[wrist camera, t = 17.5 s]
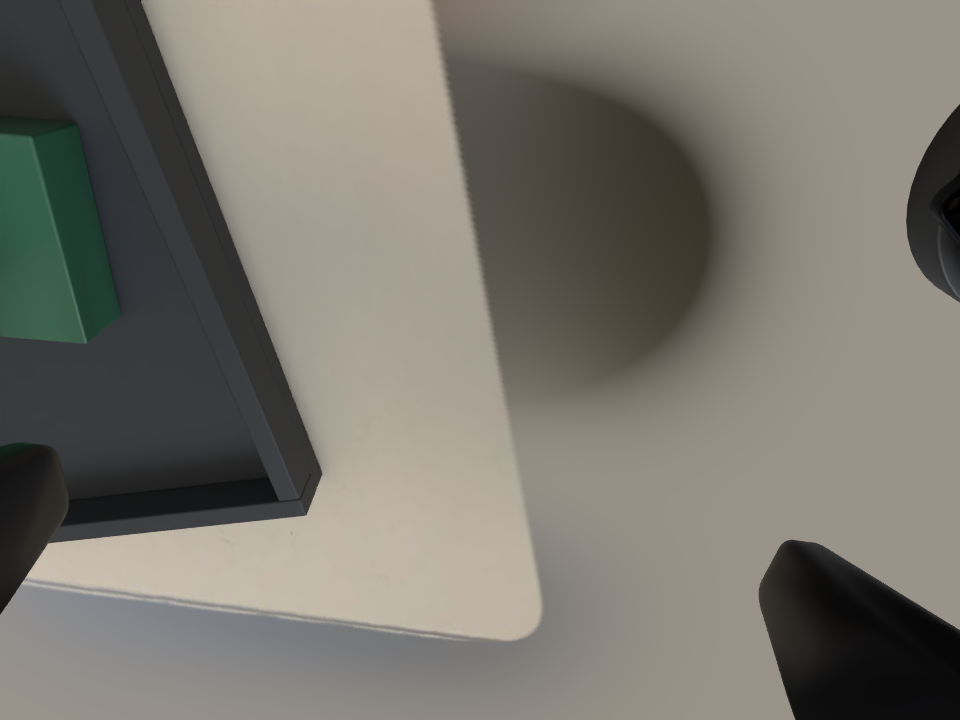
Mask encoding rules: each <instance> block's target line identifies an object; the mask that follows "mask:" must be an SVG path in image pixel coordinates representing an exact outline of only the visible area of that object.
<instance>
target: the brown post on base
mask: <svg viewBox="0 0 960 720" xmlns="http://www.w3.org/2000/svg"><path fill="white" fill-rule="evenodd" d="M120 316H121V311H120V307H119V303H118V298H117V294H116V290H115V285H114V281H113V277H112V272H111V268H110V264H109V259H108V255H107V251H106V246H105V242H104V238H103V233H102V229H101V225H100V220H99V216H98V212H97V207H96V203H95V199H94V194H93V190H92V186H91V181H90V177H89V173H88V168H87V164H86V160H85V155H84V151H83V147H82V142H81V138H80V134H79V129H78V125H77V124H76V123H73V122H63V121H52V120H41V119H31V118H20V117H9V116H0V336H2V337H13V338H24V339H36V340H47V341H58V342H70V343H81V344H86V343H89V342H90V341H91V340H92V339H93V338H95V337H96V336H97V335H98V334H99V333H101V332H102V331H103V330H104V329H105V328H107V327H108V326H109V325H110V324H111V323H113V322H114V321H115V320H116V319H118V318H119V317H120Z"/></svg>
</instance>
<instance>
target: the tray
mask: <svg viewBox="0 0 960 720" xmlns="http://www.w3.org/2000/svg"><path fill="white" fill-rule="evenodd" d="M0 116H9V117H20V118H31V119H41V120H52V121H63V122H73V123H76V124H77V125H78V129H79V134H80V138H81V142H82V147H83V151H84V155H85V160H86V164H87V168H88V173H89V177H90V181H91V186H92V190H93V194H94V199H95V203H96V207H97V212H98V216H99V220H100V225H101V229H102V233H103V238H104V242H105V246H106V251H107V255H108V259H109V264H110V268H111V272H112V277H113V281H114V285H115V290H116V294H117V298H118V303H119V307H120V311H121V316H120V317H119V318H118V319H116V320H115V321H114V322H113V323H111V324H110V325H109V326H108V327H107V328H105V329H104V330H103V331H102V332H101V333H99V334H98V335H97V336H96V337H95V338H93V339H92V340H91V341H90V342H89V343H86V344H81V343H70V342H58V341H47V340H36V339H24V338H13V337H2V336H0V446H3V445H7V444H11V443H16V442H26V443H34V444H41V445H48V446H51V447H53V448H54V449H55V450H56V451H57V453H58V455H59V458H60V462H61V466H62V470H63V474H64V478H65V481H66V485H67V489H68V493H69V507H68V511H67V514H66V516H65V518H64V520H63V522H62V523H61V525H60V526H59V528H58V529H57V531H56V532H55V534H54V535H53V537H52V538H51V540H50V541H49V543H54V542H64V541H73V540H82V539H92V538H101V537H110V536H120V535H129V534H138V533H148V532H157V531H166V530H176V529H185V528H194V527H204V526H213V525H222V524H232V523H241V522H250V521H260V520H269V519H278V518H288V517H297V516H305V515H307V512H308V510H309V507H310V505H311V502H312V499H313V497H314V494H315V491H316V487H317V486H318V484H319V481H320V479H321V476H322V473H321V470H320V467H319V465H318V462H317V460H316V457H315V454H314V452H313V449H312V447H311V444H310V441H309V439H308V436H307V434H306V431H305V428H304V426H303V423H302V421H301V418H300V415H299V413H298V410H297V408H296V405H295V402H294V400H293V397H292V395H291V392H290V389H289V387H288V384H287V382H286V379H285V376H284V374H283V371H282V369H281V366H280V364H279V361H278V358H277V356H276V353H275V351H274V348H273V345H272V343H271V340H270V338H269V335H268V332H267V330H266V327H265V325H264V322H263V319H262V317H261V314H260V312H259V309H258V306H257V304H256V301H255V299H254V296H253V293H252V291H251V288H250V286H249V283H248V280H247V278H246V275H245V273H244V270H243V267H242V265H241V262H240V260H239V257H238V254H237V252H236V249H235V247H234V244H233V241H232V239H231V236H230V234H229V231H228V228H227V226H226V223H225V221H224V218H223V215H222V213H221V210H220V208H219V205H218V202H217V200H216V197H215V195H214V192H213V189H212V187H211V184H210V182H209V179H208V177H207V174H206V171H205V169H204V166H203V164H202V161H201V158H200V156H199V153H198V151H197V148H196V145H195V143H194V140H193V138H192V135H191V132H190V130H189V127H188V125H187V122H186V119H185V117H184V114H183V112H182V109H181V106H180V104H179V101H178V99H177V96H176V93H175V91H174V88H173V86H172V83H171V80H170V78H169V75H168V73H167V70H166V67H165V65H164V62H163V60H162V57H161V54H160V52H159V49H158V47H157V44H156V41H155V39H154V36H153V34H152V31H151V28H150V26H149V23H148V21H147V18H146V15H145V13H144V10H143V8H142V5H141V2H140V0H0Z"/></svg>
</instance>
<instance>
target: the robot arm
mask: <svg viewBox="0 0 960 720" xmlns="http://www.w3.org/2000/svg"><path fill="white" fill-rule="evenodd" d="M958 197H960V174H959V175H958V176H956V177H955V178H954V179H953V180H951V181H950V182H949V183H947V184H946V185H945V186H944V187H942V188H941V189H940V190H939V191H938V192H937V193H936V194H935V195H934V196H933V198H932V200H931V202H930V212H931V214H932V216H933V217H934V218H935V219H936V221H937V222H938V223H939V224H940V226H941V227H942V228H943V229H944V231H945V232H946V233H947V234H948V236H949V237H950V238H951V239H952V241H953V242H954V243H955V244H956V246H957V247H958V248H959V249H960V200H959V203H958V205H957V206H956V207H955V208H954V209H952V210H950V211H949V210H948V208H949V205H950V203H951V202H952V201H953V200H954V199H956V198H958ZM68 507H69V493H68V489H67V485H66V481H65V478H64V474H63V470H62V466H61V462H60V458H59V455H58V453H57V451H56V450H55V449H54V448H53V447H51V446H48V445H41V444H34V443H26V442H16V443H11V444H7V445H3V446H0V614H1V613H2V611H3V610H4V608H5V607H6V606H7V604H8V602H9V601H10V600H11V598H12V597H13V595H14V594H15V592H16V591H17V589H18V588H19V586H20V585H21V583H22V582H23V580H24V579H25V577H26V576H27V574H28V573H29V571H30V570H31V568H32V567H33V565H34V564H35V562H36V561H37V559H38V558H39V556H40V555H41V553H42V552H43V550H44V549H45V547H46V546H47V544H48V543H49V541H50V540H51V538H52V537H53V535H54V534H55V532H56V531H57V529H58V528H59V526H60V525H61V523H62V522H63V520H64V518H65V516H66V514H67V511H68ZM759 602H760V607H761V611H762V614H763V617H764V621H765V624H766V627H767V631H768V634H769V637H770V641H771V644H772V647H773V651H774V654H775V657H776V661H777V664H778V667H779V671H780V674H781V677H782V681H783V684H784V687H785V691H786V694H787V697H788V700H789V703H790V706H791V709H792V712H793V715H794V717H795V720H960V630H959V629H957V628H955V627H954V626H952V625H951V624H949V623H947V622H946V621H944V620H943V619H941V618H939V617H938V616H936V615H934V614H933V613H931V612H929V611H928V610H926V609H925V608H923V607H921V606H920V605H918V604H917V603H915V602H913V601H912V600H910V599H908V598H907V597H905V596H904V595H902V594H900V593H899V592H897V591H895V590H894V589H892V588H891V587H889V586H887V585H886V584H884V583H882V582H881V581H879V580H878V579H876V578H874V577H873V576H871V575H869V574H868V573H866V572H864V571H863V570H861V569H860V568H858V567H856V566H855V565H853V564H852V563H850V562H848V561H846V560H845V559H843V558H842V557H840V556H839V555H837V554H835V553H834V552H832V551H830V550H829V549H827V548H825V547H824V546H822V545H820V544H817V543H813V542H805V541H797V540H788V541H785V542H784V543H783V544H782V545H781V546H780V547H779V549H778V551H777V553H776V555H775V557H774V559H773V560H772V562H771V564H770V566H769V568H768V570H767V571H766V573H765V575H764V577H763V579H762V581H761V583H760V588H759Z"/></svg>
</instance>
